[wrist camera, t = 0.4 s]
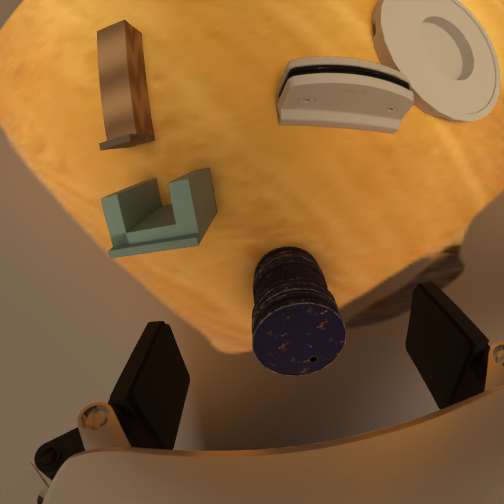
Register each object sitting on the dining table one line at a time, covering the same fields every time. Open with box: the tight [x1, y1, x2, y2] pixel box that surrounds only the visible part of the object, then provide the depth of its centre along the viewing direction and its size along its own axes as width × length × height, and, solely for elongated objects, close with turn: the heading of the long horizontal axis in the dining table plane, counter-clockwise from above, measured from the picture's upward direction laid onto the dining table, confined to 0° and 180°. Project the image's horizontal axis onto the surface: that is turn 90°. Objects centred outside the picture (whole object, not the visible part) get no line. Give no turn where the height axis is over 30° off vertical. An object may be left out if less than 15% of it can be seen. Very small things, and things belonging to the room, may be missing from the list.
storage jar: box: [252, 247, 346, 376], centre depth 35 cm, size 10×10×15 cm
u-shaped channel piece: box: [101, 168, 217, 258], centre depth 32 cm, size 6×10×13 cm, turn 98°
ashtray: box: [372, 0, 500, 122], centre depth 27 cm, size 23×23×4 cm
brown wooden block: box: [97, 20, 155, 150], centre depth 28 cm, size 17×4×8 cm, turn 8°
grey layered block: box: [276, 57, 414, 134], centre depth 29 cm, size 17×5×10 cm, turn 91°
